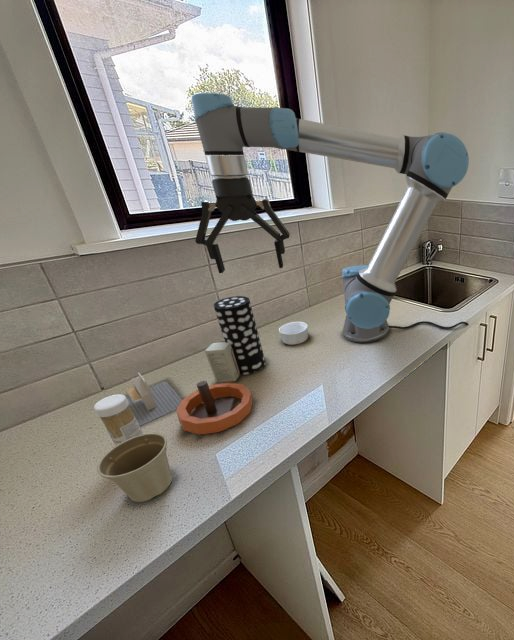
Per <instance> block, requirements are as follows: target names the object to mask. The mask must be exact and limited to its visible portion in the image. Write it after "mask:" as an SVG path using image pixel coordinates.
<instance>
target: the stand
mask: <svg viewBox="0 0 514 640" xmlns="http://www.w3.org/2000/svg"><path fill="white" fill-rule="evenodd" d="M209 386H210V385H209V384H208V381H207V380H202V381H199V382H197V383H196V388H197V390H198V391H199V393H200V396H201V399H202V401H203V403H201V404H200V405H199V406H197V407H196V408H195V409H194V411H193V412H192V415H191V416H193V417H197V418H209V417H217V416H220V415H222V414H224V413H227V412H229V411H232V410H233V409H234V408H235V402H236V397H230V398H224V399H217V400H214V399H213V397H212V395H211V392H210V389H209Z"/></svg>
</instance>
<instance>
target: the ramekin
mask: <svg viewBox="0 0 514 640" xmlns="http://www.w3.org/2000/svg"><path fill="white" fill-rule="evenodd" d="M308 328H309V326H308V324H307V323H305V322H303V321H291V322H287V323H285V324H282V325H281V326H280V327H279V328H278V332H279V334H280V338H281V341H282V342H283V343H284V344H286V345H291V346H293V345H299V344H303V343H304V342H305V341H307V340H308V338H309V330H308Z"/></svg>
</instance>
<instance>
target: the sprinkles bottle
mask: <svg viewBox="0 0 514 640" xmlns="http://www.w3.org/2000/svg"><path fill="white" fill-rule="evenodd" d="M126 397H127V396H126V395H124V394H121V393H118V394H117V393H116V394H113V395H108V396H106V397H104V398H102V399H100V400H98V401H97V402H96V403H95V404H94V406H93V410H94V412H95V414H96V415H97V416H98V417H99V418H100V420H101V421H102V423H103V426H104V427H105V428H106V431H107V433H108V434H109V436H110V438H111V440H112V442H113V445H114V447H115V446H117V445H118V444H120V443H122V442H124V441H126V440H128V439H130V438H133V437H135V436H138V435H142V434H144V432H143V430H142V428H141V426H139V424H138V422H137V420H136V418H135V416H134V415H133V413H132V411H131V409H130V407H129V402H128V400H127V398H126Z"/></svg>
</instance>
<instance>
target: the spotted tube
mask: <svg viewBox="0 0 514 640" xmlns="http://www.w3.org/2000/svg"><path fill="white" fill-rule="evenodd" d="M213 308H214V312H215V315H216V318H217V322H218V326H219V328H220V331H221V335H222V338H223V342H226V343H230V344H231V347H232V350H233V353H234V356H235V359H236V362H237V365H238V368H239V371H240V375H241V376H242V375H244V376H245V375H250V374H254V373H257V372H259V371H260V370H262V369H263V368H264V367H265V366H266V358H265V355H264V351H263V347H262V342H261V340H260V336H259V331H258V327H257V323H256V320H255V316H254V312H253V308H252V304H251V301H250V298H249V297H248V296H245V295H236V296H235V295H234V296H228V297H224V298H222V299H219V300H217V301H215V302H214V303H213Z"/></svg>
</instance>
